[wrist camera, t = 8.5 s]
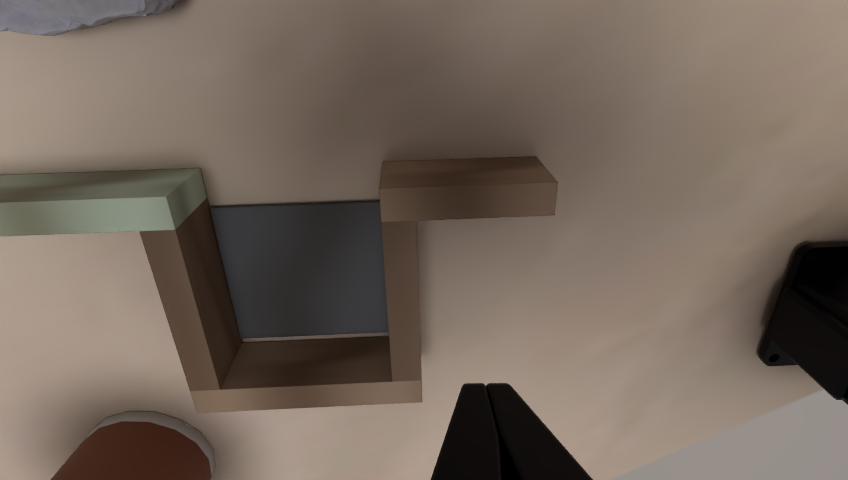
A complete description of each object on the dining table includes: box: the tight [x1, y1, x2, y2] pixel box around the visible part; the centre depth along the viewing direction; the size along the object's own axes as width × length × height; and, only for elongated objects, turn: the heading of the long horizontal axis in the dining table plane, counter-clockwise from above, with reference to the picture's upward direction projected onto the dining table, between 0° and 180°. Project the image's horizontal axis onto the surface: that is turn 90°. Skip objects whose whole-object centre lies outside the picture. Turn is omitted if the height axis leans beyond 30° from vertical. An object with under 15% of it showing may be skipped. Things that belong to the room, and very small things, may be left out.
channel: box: [0, 157, 558, 413], centre depth 16 cm, size 22×26×3 cm
